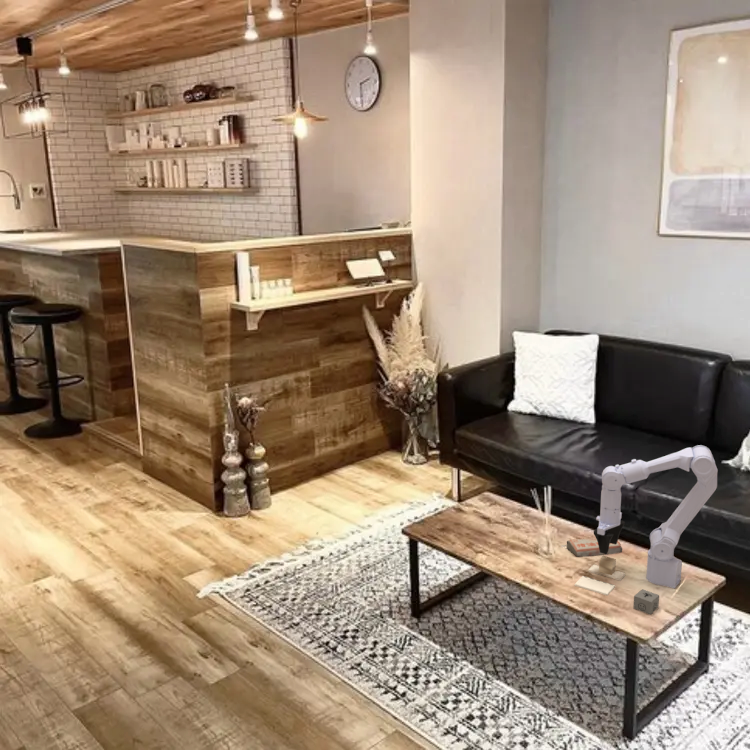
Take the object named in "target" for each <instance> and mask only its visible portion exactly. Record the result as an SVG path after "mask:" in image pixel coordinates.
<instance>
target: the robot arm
mask: <svg viewBox="0 0 750 750" xmlns="http://www.w3.org/2000/svg"><path fill="white" fill-rule="evenodd" d="M675 468H679V469H681V470H682V471H683V470H684V471H686V472H690V469H691V471H692V472H693V473H694V475H695V477H696V480H697V481H696V483H695V484H694V486H692V488H691V489H690V491H688V493H687V494H686V496H685V497H684V498H683V500H682V501H681V502H680V504H679V505H678V507H676V509H675V510H674V511H673V512H672V514H671V516H670V517H669V518H668V519H667V520H666V521H665V522H662V523H661V525H660V526H659V527H656V528H655V529H653V530H652V531H651V532H650V534H649V541H650V548H649V549H648V551H647V560H646V562H647V563H646V577H645V578H646V580H647V582H650V583H651V584H653V585H657V586H664V587H668V588H672V589H676V588H677V586H678V585H679V584H680V582H681V580H682V569H683V568H682V566H683V563H682V562H683V561H682V560H681V559H679V558H677V557H675V556H674V553H675V552H674V551H675V548H676V547H677V545H678V543H679V541H680V537H681V535H682V533H683V532H684V531H685V530H686V528H687V527H688V526H689V525H690V523H691V522H692V521H693V520H694V518H695V517H696V516H697V514H699V512H700V511H701V509H702V508H703V507H704V505H705V504H706V503H707V502H708V500H709V499H710V497H712V496H713V494H714V493H715V491H716V489H717V488H718V471H719V470H718V468H717V465H716V461H715V459H714V455H713V454H712V451H711V450H710V448H709V447H707V446H705V445H702V444H700V445H698V444H697V445H695V446H693V447H692V446H691V447H686V448H683V449H681V450H679V451H676V452H672V453H669V454H667V455H665V456H661V457H658V458H655V459H652V460H649V461H644V460H642V459H636V458H633V459H631V461H630V462H628V463H624V464H621V465H619V464H618V463H617V464H615V466H613V465H609V466H607V467H605V468H604V469H603V471H602V472H601V483H602V485H601V491H600V492H601V493H600V512H599V513H600V514H599V515H597V516H596V519H595V520H596V521H598V527H597V528H595V529H594V530H593V535H594V536H595V537H594V538H596V539H597V542H598V545H599V550H600V553H604V554H606V555H608V554H607V553H608V550H609V545H610V543H612V544H617V542H619V537H620V535H621V531H622V529H623V528H624V525H625V524H626V521H624V520H621V519H622V517H623V516H622V514H623V512H621V507H622V506H621V504H622V492H621V488H622V486H623V485H628V484H631V483H635V482H639V481H642V480H647V478H648V477H649V476H650V474H654V473H657V472H662V471H666V470H671V469H675Z"/></svg>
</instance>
